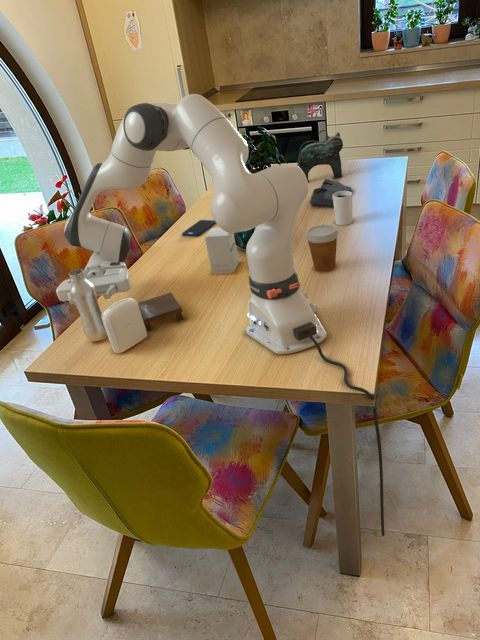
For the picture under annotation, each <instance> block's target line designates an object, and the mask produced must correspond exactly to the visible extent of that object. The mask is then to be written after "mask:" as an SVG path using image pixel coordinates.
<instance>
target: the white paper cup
mask: <svg viewBox="0 0 480 640" xmlns="http://www.w3.org/2000/svg"><path fill="white" fill-rule="evenodd" d="M333 204H334V207H333V210H334V219H335V224H336V225H337V226H347V225H350V224H351V223H352V222H353V193H352V191H351V192H350V191H339V192H336V193H334V194H333Z"/></svg>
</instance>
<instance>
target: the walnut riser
mask: <svg viewBox="0 0 480 640" xmlns="http://www.w3.org/2000/svg"><path fill="white" fill-rule="evenodd" d="M137 304H138V306H139V309H140V312H141V316H142V319H143V322H144V325H145V328H146V332H147V333H149V332H152V331H153V328H152V324H151V323H153V322H156V321H159V320H163V319H166V318H169V317H172V316H175V317H176V320H177V322H182V321H184V317H183V308H182V306H181V305H180V304H179V302H178V301H177V299H176V298H175V296H174V295H173V293H172V292H168V293H165V294H161V295H158V296H155V297H152V298H149V299H146V300H143V301H139V302H137Z"/></svg>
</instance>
